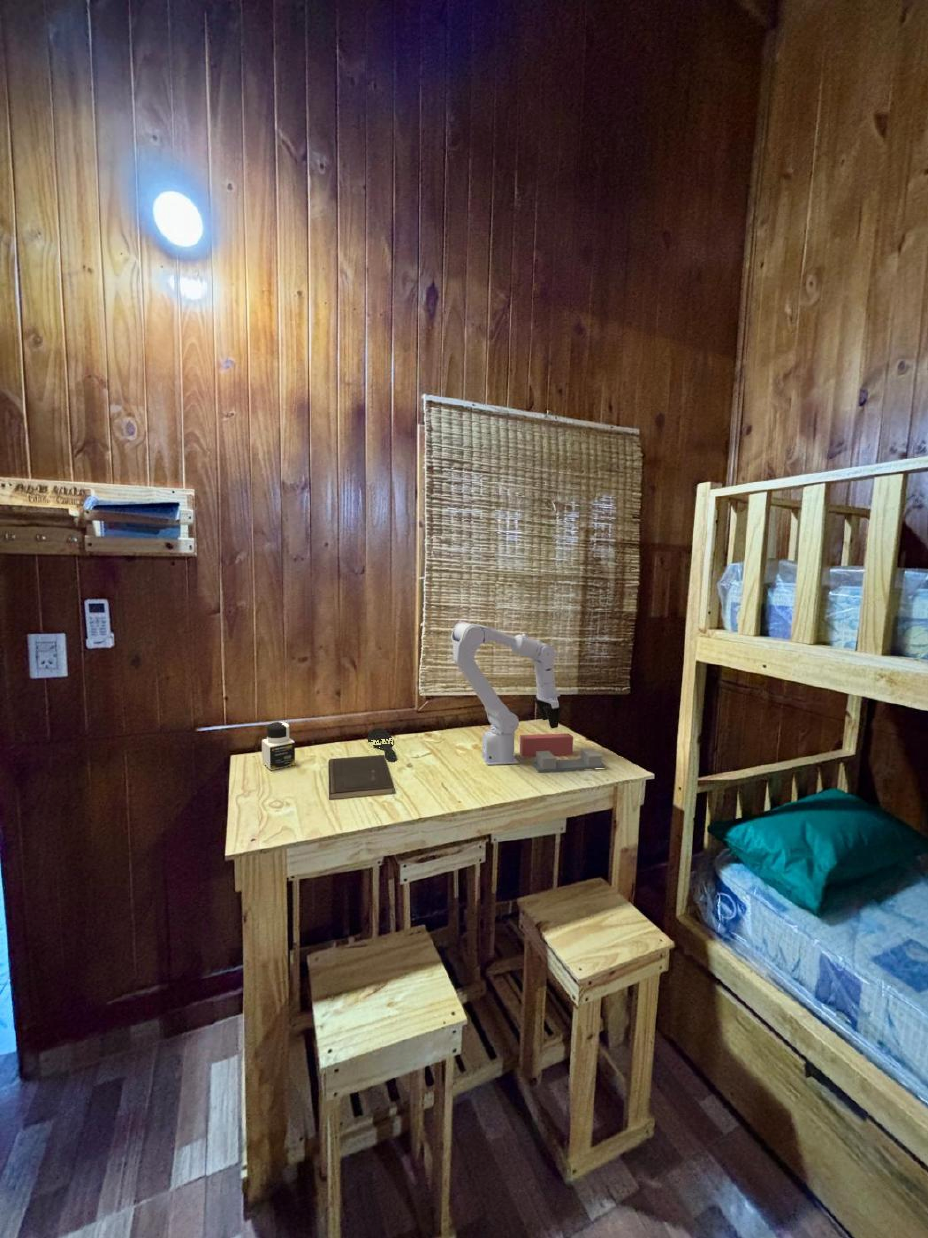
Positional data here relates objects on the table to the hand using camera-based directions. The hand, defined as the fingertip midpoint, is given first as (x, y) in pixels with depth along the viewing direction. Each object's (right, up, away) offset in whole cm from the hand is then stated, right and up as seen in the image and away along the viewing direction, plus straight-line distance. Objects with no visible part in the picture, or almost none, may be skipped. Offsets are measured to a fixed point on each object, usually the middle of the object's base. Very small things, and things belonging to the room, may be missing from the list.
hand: (549, 723), depth 159 cm
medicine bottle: (-80, -10, -11) cm, 82 cm away
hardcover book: (-55, -12, -20) cm, 60 cm away
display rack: (+4, -11, -9) cm, 15 cm away
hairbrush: (-52, -9, +4) cm, 53 cm away
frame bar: (-1, -10, +1) cm, 10 cm away
